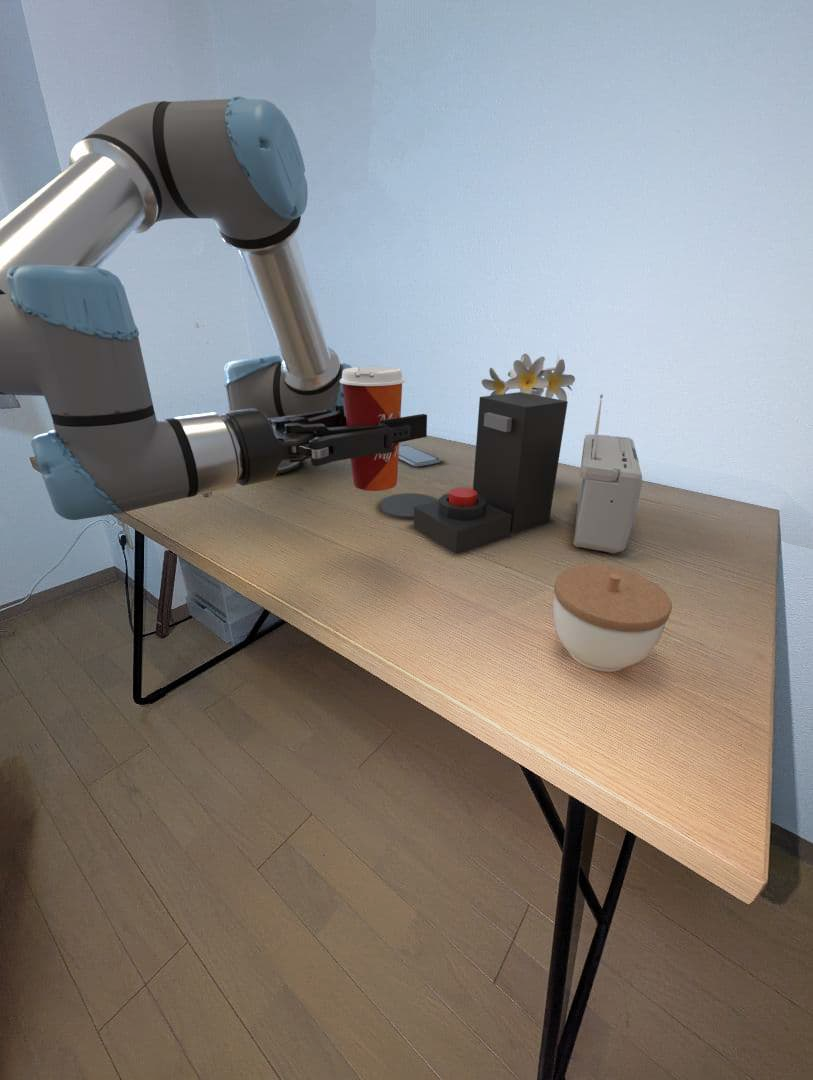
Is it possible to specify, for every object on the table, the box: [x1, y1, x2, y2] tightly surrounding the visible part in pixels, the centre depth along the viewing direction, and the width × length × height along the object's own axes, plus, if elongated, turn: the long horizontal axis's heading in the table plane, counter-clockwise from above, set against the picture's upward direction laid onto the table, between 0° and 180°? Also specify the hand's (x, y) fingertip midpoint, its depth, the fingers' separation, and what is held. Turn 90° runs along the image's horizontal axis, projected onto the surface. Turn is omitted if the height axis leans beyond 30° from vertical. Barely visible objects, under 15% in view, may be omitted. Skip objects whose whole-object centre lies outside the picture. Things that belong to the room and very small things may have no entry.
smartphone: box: [398, 444, 441, 468], centre depth 114 cm, size 7×1×15 cm
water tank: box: [472, 391, 569, 534], centre depth 77 cm, size 10×10×20 cm
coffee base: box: [413, 492, 512, 554], centre depth 75 cm, size 11×11×6 cm
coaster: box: [379, 493, 439, 520], centre depth 85 cm, size 11×11×1 cm
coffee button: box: [448, 487, 477, 506], centre depth 74 cm, size 4×4×2 cm
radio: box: [573, 393, 643, 555], centre depth 74 cm, size 21×8×20 cm, turn 160°
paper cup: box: [339, 366, 406, 492], centre depth 58 cm, size 8×8×14 cm
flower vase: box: [481, 352, 576, 401], centre depth 92 cm, size 13×18×25 cm
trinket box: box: [552, 564, 673, 673], centre depth 48 cm, size 11×11×9 cm
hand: (406, 420), depth 60 cm, fingers closed on paper cup, 6 cm apart
